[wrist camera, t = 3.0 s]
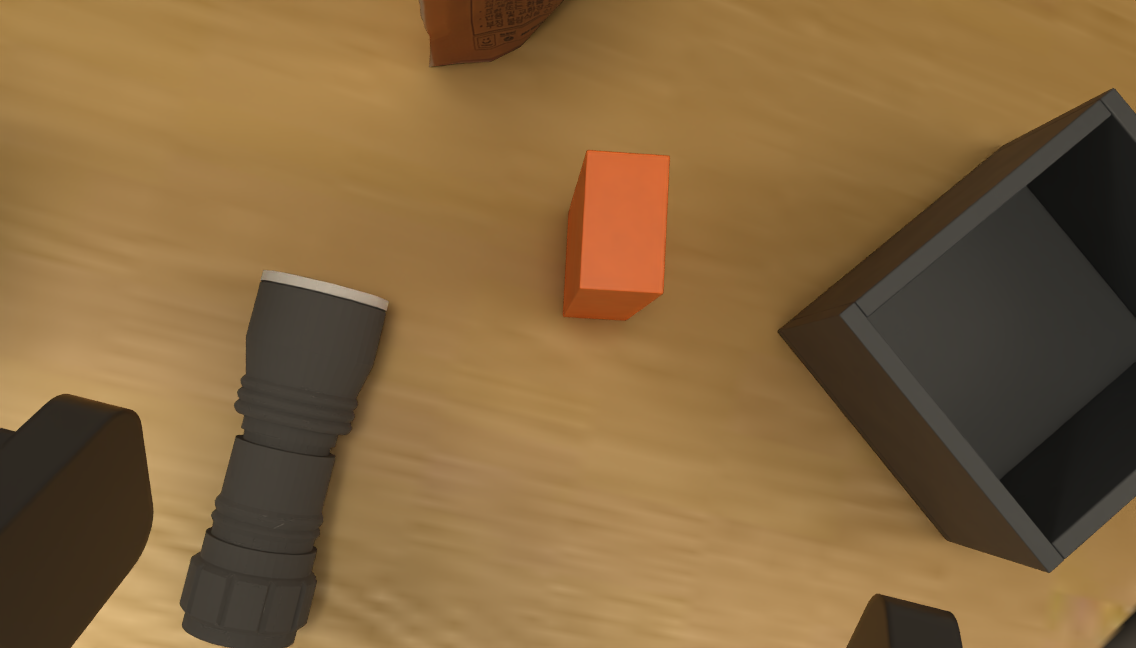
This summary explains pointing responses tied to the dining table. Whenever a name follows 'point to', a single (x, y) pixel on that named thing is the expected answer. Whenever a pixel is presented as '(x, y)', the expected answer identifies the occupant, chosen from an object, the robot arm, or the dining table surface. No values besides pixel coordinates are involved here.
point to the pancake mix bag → (480, 27)
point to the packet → (616, 235)
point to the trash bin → (1001, 342)
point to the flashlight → (281, 460)
